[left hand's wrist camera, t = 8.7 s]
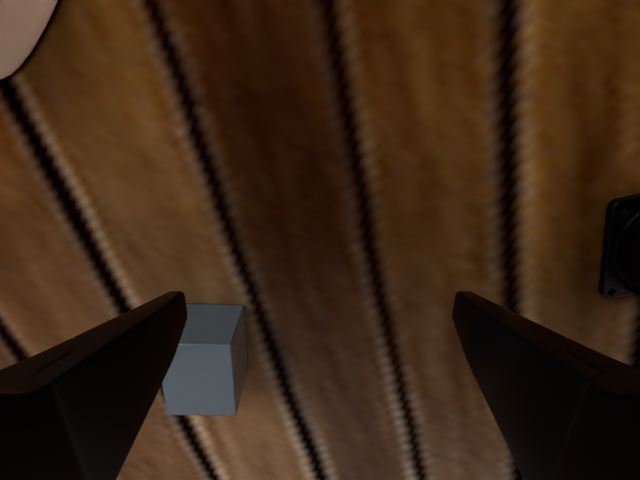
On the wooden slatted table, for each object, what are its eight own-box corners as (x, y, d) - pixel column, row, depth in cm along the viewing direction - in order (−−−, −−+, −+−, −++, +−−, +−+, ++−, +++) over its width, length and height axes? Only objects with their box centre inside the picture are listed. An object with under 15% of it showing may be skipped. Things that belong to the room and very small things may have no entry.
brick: (244, 304, 22) (230, 345, 19) (248, 368, 24) (236, 416, 21) (180, 303, 22) (154, 343, 19) (189, 367, 24) (167, 415, 21)
